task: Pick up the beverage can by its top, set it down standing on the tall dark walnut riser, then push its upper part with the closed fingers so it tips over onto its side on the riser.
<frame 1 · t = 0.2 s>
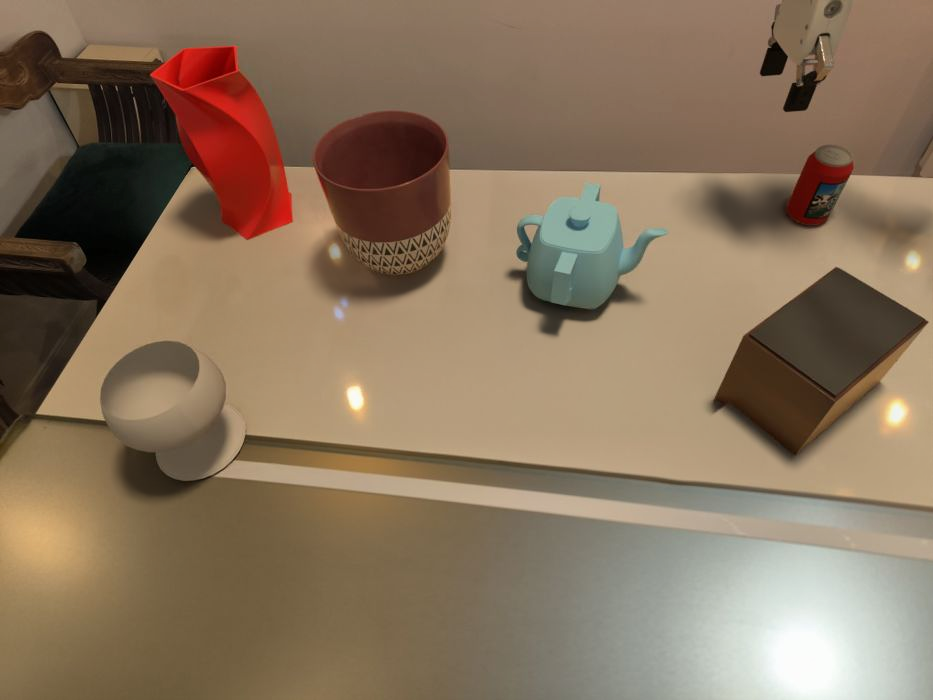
hand: (781, 91, 87), 22 cm above the table, tool pointing down, fingers open, 9 cm apart
riser: (837, 326, 71), on the table
planter: (402, 258, 104), on the table
beverage can: (804, 216, 104), on the table
chalice: (202, 442, 83), on the table
vase: (258, 216, 113), on the table
teapot: (582, 285, 97), on the table
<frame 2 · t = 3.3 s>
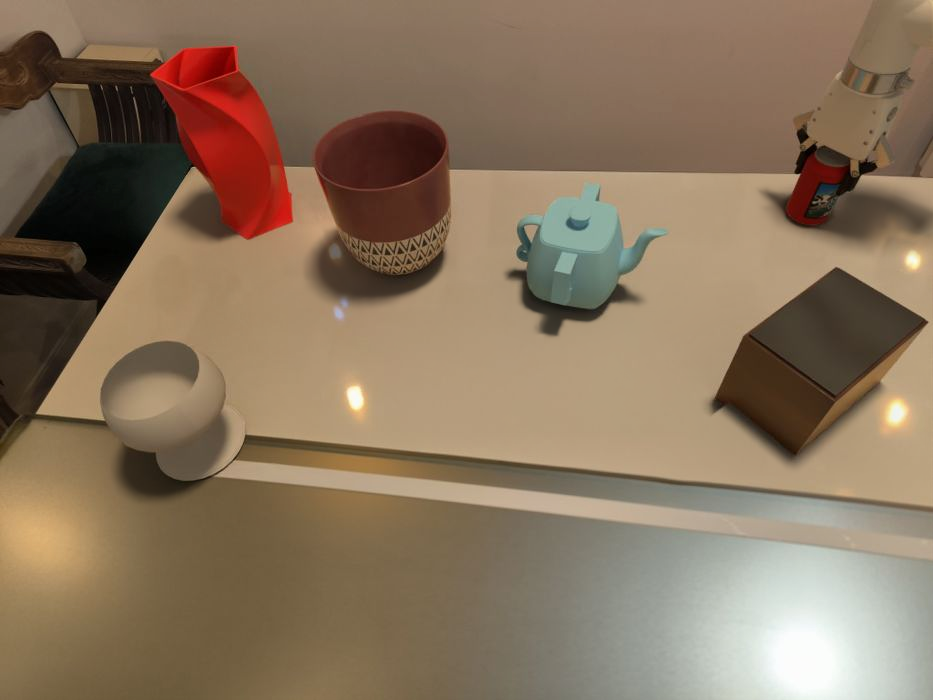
hand: (821, 180, 98), 7 cm above the table, tool pointing down, fingers closed on beverage can, 6 cm apart
beverage can: (804, 216, 104), on the table, touching gripper
everything else where it was.
when the fingers open (21 cm above the table, at t = 11.1 s): beverage can stays where it is, resting on riser.
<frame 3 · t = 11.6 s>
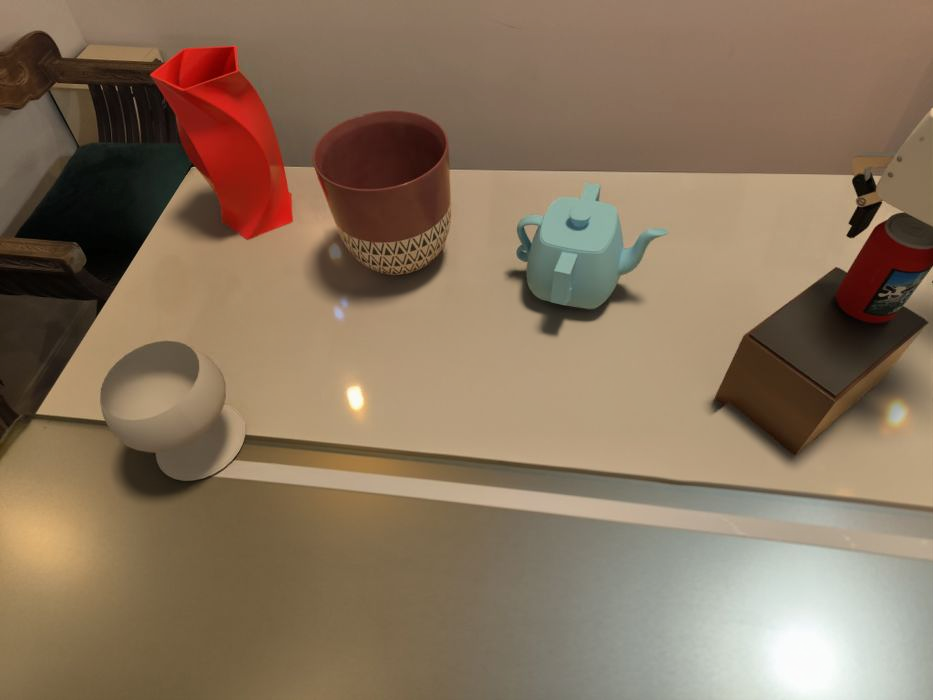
hand: (897, 255, 66), 22 cm above the table, tool pointing down, fingers open, 9 cm apart
beverage can: (862, 307, 73), point 14 cm above the table, touching riser
everything else where it was.
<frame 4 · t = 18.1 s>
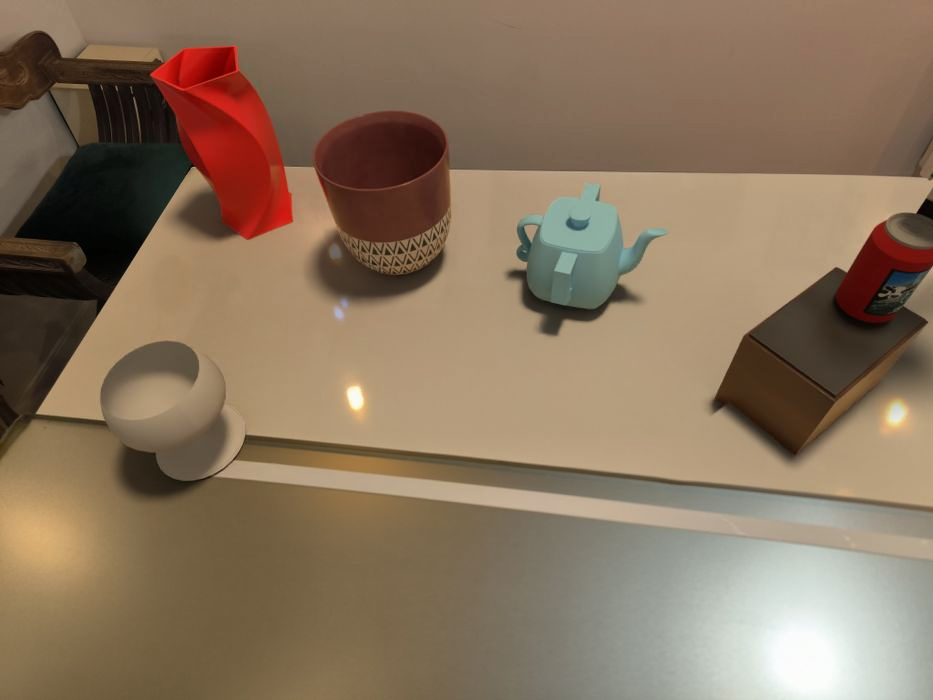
hand: (927, 226, 67), 24 cm above the table, tool pointing down, fingers closed
beverage can: (862, 307, 73), point 14 cm above the table, touching gripper, riser
everything else where it was.
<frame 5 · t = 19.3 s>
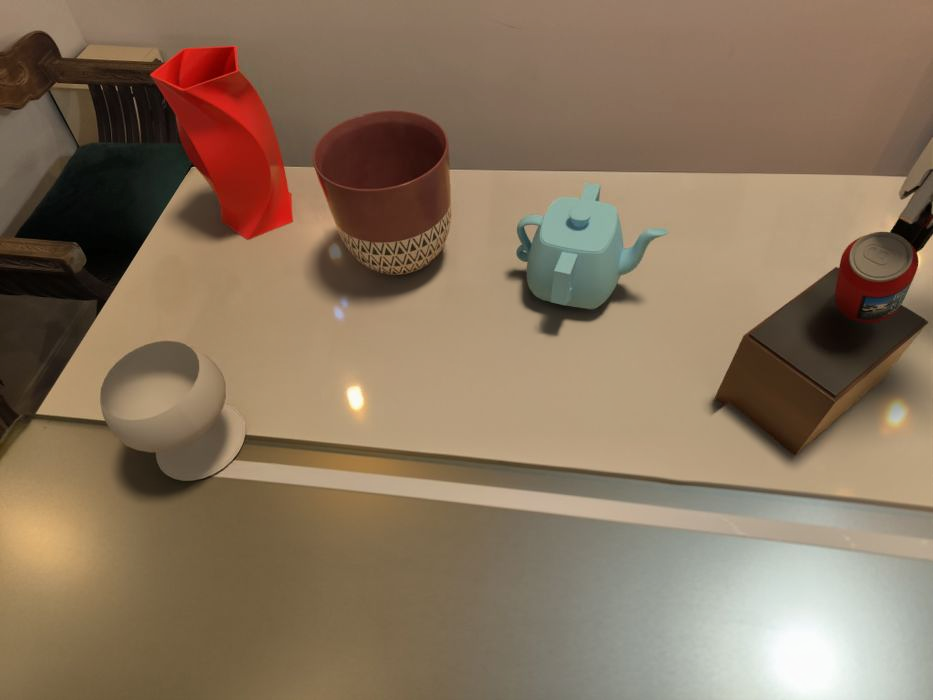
hand: (902, 245, 65), 24 cm above the table, tool pointing down, fingers closed
beverage can: (867, 299, 71), point 15 cm above the table, touching gripper, riser
everything else where it was.
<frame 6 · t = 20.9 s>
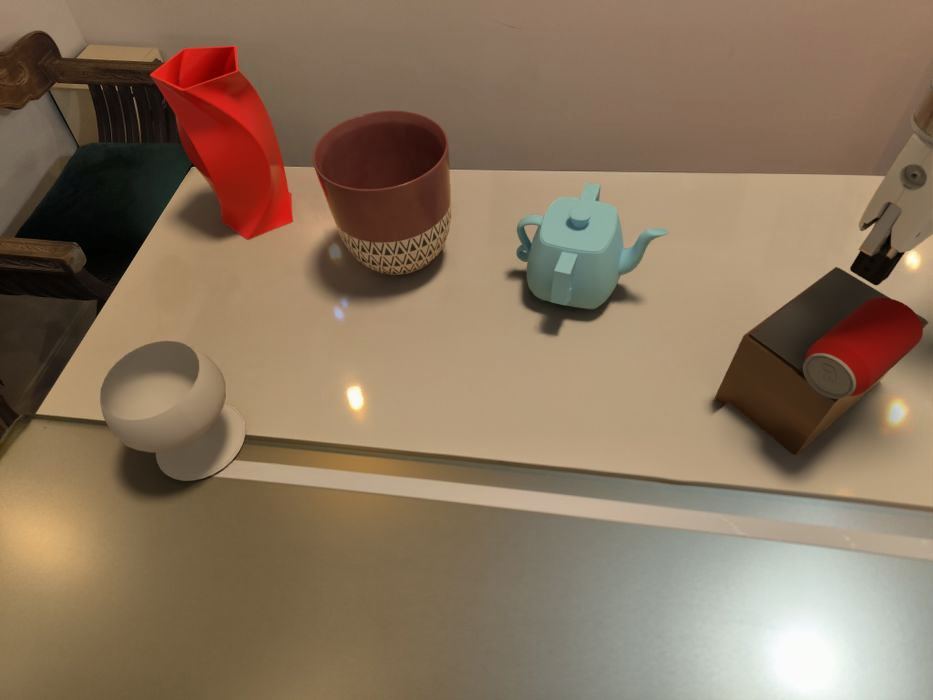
hand: (867, 274, 63), 23 cm above the table, tool pointing down, fingers closed
beverage can: (894, 319, 67), point 17 cm above the table, touching riser
everything else where it was.
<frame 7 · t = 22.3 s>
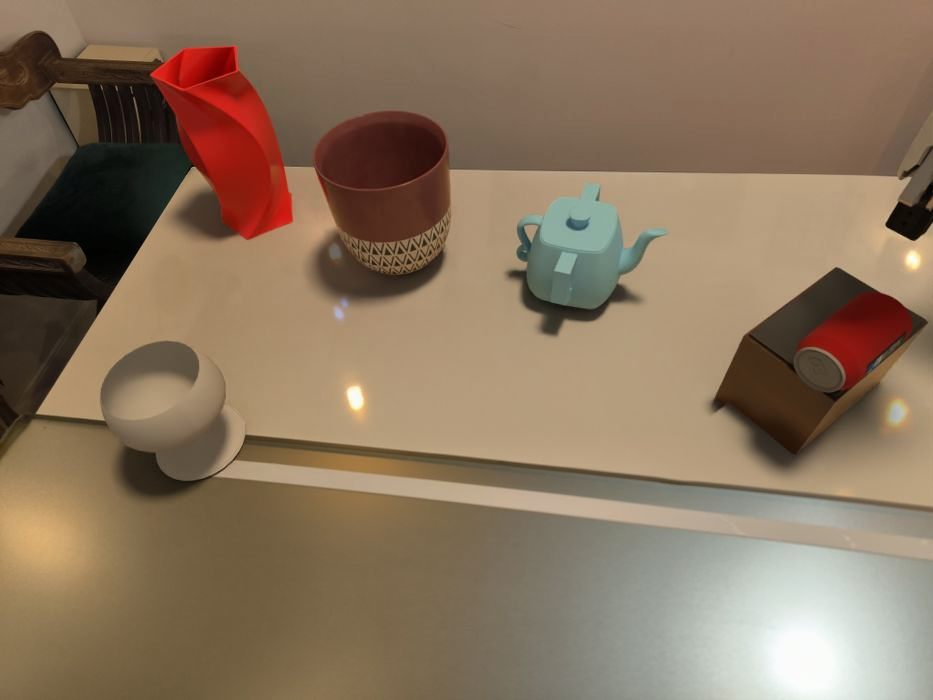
hand: (903, 230, 60), 28 cm above the table, tool pointing down, fingers closed
beverage can: (884, 313, 67), point 17 cm above the table, touching riser
everything else where it was.
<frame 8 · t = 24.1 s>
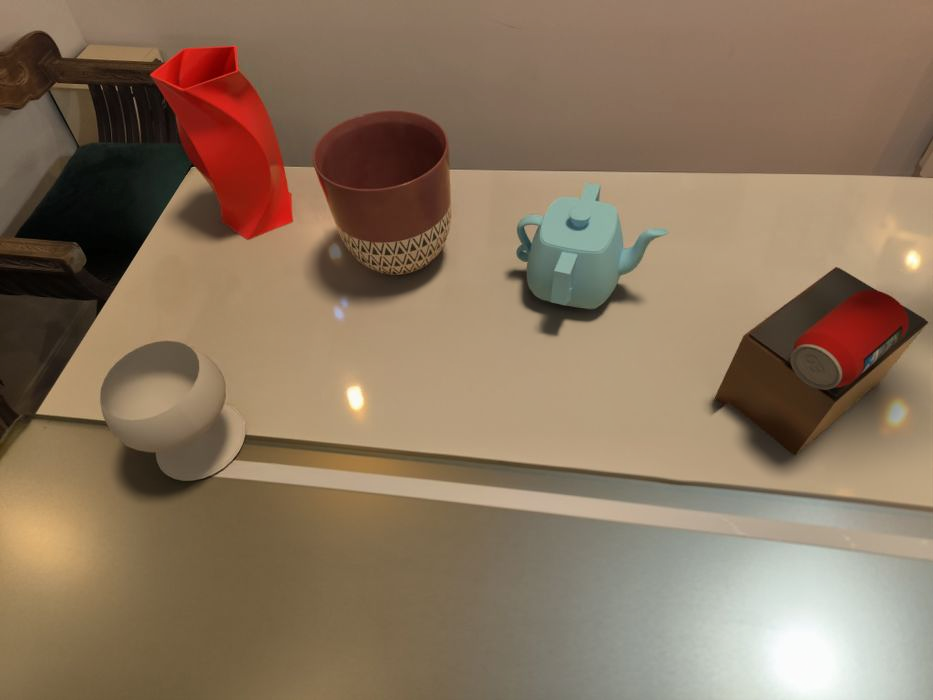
nothing on the table moved.
at the end: beverage can tilted 90°; beverage can inside the target area on the riser (3.2 cm from its centre), point 3.4 cm above the riser's base; beverage can moved 42.0 cm from its start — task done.
